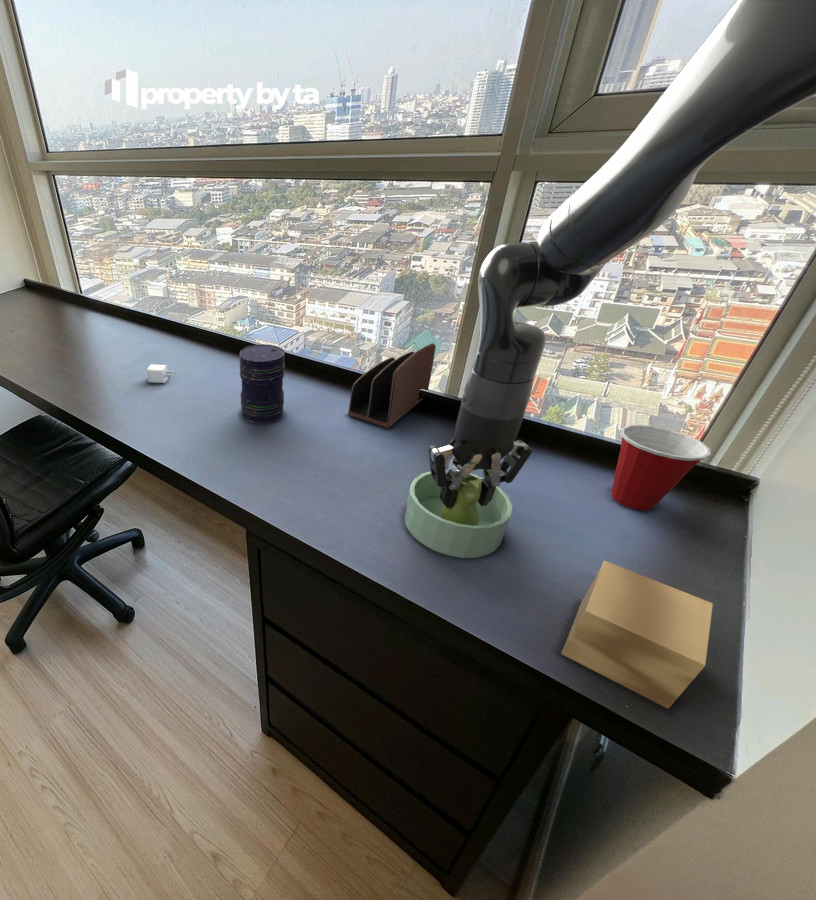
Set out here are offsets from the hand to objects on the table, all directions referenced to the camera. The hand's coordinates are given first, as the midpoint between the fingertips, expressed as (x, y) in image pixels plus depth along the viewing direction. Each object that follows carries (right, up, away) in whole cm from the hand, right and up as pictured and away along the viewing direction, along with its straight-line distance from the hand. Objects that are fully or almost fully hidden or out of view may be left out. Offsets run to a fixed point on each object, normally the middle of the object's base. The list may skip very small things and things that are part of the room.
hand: (464, 503), depth 73 cm
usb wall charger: (-52, +27, +57) cm, 82 cm away
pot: (0, -4, +4) cm, 6 cm away
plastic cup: (+32, 0, +7) cm, 33 cm away
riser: (+11, -16, -15) cm, 25 cm away
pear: (0, -5, +3) cm, 6 cm away
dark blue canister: (-27, +17, +39) cm, 50 cm away
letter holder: (+2, +18, +39) cm, 43 cm away
